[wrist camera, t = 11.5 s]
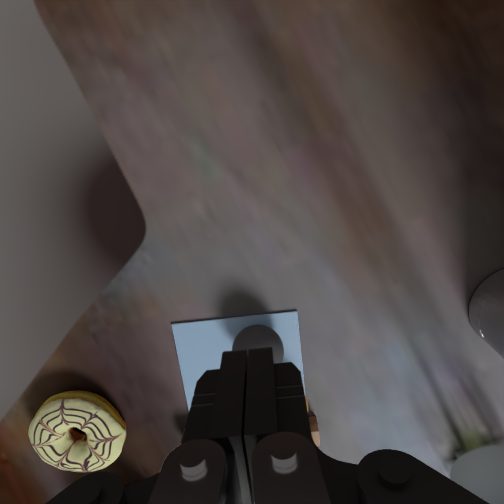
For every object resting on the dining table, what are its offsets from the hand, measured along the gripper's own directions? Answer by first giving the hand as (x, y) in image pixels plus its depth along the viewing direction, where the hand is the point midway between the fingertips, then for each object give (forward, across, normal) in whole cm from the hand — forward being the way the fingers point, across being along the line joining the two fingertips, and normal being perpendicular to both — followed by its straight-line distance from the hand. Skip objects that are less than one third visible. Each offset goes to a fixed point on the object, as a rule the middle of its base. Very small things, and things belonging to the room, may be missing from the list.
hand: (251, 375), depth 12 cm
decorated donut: (+30, +24, +24) cm, 45 cm away
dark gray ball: (+26, +2, +15) cm, 30 cm away
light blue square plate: (+29, +4, +19) cm, 35 cm away
